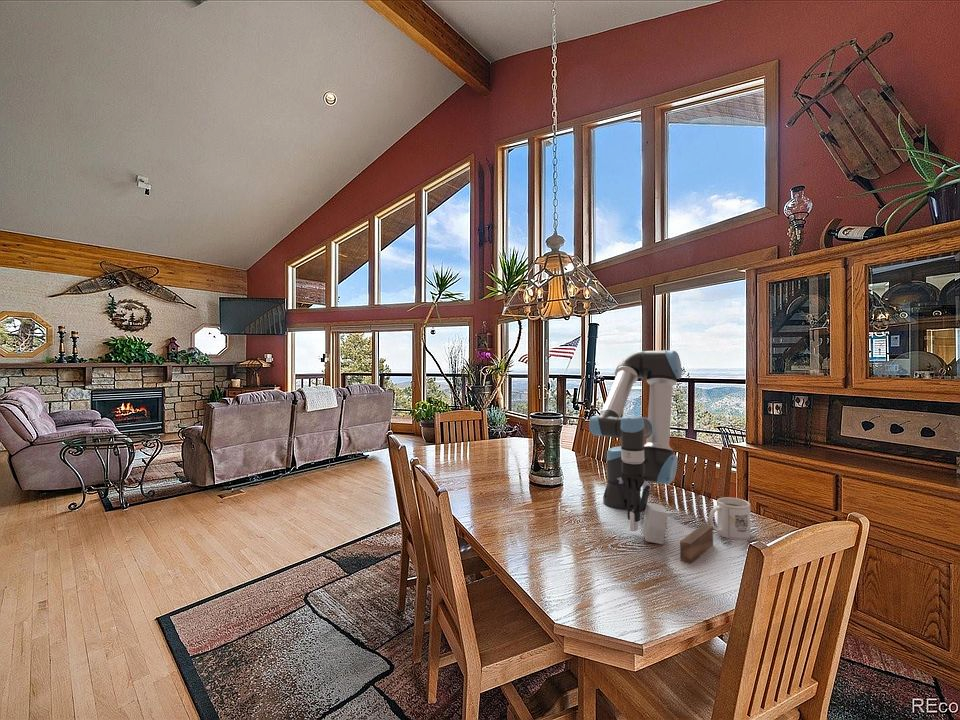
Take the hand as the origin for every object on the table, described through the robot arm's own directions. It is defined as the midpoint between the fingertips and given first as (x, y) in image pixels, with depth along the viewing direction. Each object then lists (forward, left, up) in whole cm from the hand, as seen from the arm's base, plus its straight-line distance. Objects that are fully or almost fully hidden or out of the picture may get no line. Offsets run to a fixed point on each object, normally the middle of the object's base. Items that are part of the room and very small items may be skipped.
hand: (634, 530), depth 154 cm
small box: (+6, 0, -1) cm, 6 cm away
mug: (+23, +22, -2) cm, 32 cm away
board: (+21, 0, -2) cm, 21 cm away
